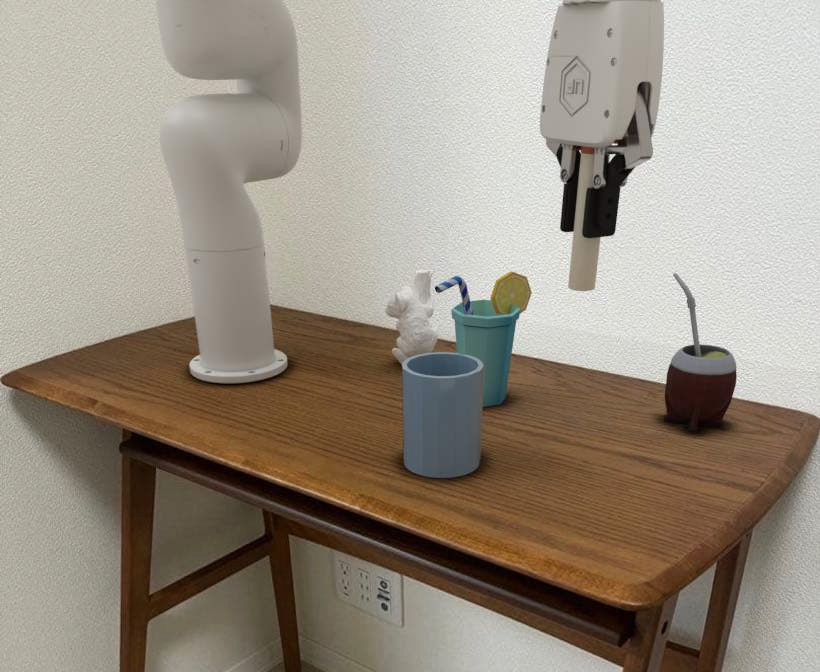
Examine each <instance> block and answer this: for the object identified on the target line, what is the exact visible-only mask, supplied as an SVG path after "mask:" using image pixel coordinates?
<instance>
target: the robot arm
mask: <svg viewBox="0 0 820 672" xmlns="http://www.w3.org/2000/svg"><path fill="white" fill-rule="evenodd" d="M155 6H156V14H157V21H158V28H159V34H160V39H161V45H162V48H163V52H164V53H163V54H164V55H165V58H166V61H167V62H168V64H169V65H170V66H171V68H172V69H173V70H174V71H175V72H176V73H177V74H179V75H180V76H183V77H186V78H189V79H193V80H202V81H228V80H230V81H232V80H234V81H235V83H236V89H237V93H230V92H226V93H225V92H224V93H223V92H221V93H202V94H194V95H189V96H186V97H184V98H181V99H179V100H177V101H175V102H174V103H172V104H171V105H170V106H169V107H168V108H167V109H166V111H165V113H164V114H163V116H162V119H161V122H160V125H159V144H160V149H161V153H162V156H163V161H164V163H165V166H166V169H167V172H168V175H169V179H170V182H171V185H172V188H173V192H174V195H175V199H176V204H177V208H178V214H179V219H180V226H181V232H182V239H183V245H184V252H185V259H186V266H187V271H188V272H187V273H188V279H189V287H190V294H191V295H190V296H191V301H192V308H193V314H194V322H195V329H196V338H197V343H198V349H199V351H198V352H199V354H198V355H196V356H195V357H193V358H192V359H191V360H190V361H189V364H188V367H189V372H190V375H192V376H193V377H194V378H196V379H197V380H200V381H203V382H208V383H213V384H225V385H226V384H229V385H230V384H246V383H253V382H259V381H263V380H267V379H271V378H273V377H275V376H278V375H279V374H280V375H281V374H282V373H283V372H284V371H285V370H286V369H287V368H288V356H287V355H286V354H285V353H284V352H283V351H281V350H278V349H275V344H274V343H275V342H274V332H273V331H274V330H273V320H272V311H271V299H270V290H269V280H268V269H267V268H268V267H267V258H266V248H265V238H264V229H263V223H262V220H261V217H260V214H259V212H258V209H257V207H256V205H255V204H254V202H253V200H252V199H251V196H250V195H249V193H248V191H247V189H246V187H245V184H247V183H255V182H262V181H267V180H275V179H277V178H282V177H283V176H286V175H287V174H289V173H290V172H291V171H293V169H294V168H295V166H296V165H297V163H298V161H299V159H300V156H301V152H302V145H303V116H302V99H301V98H302V97H301V80H300V64H299V63H300V61H299V49H298V48H299V47H298V38H297V31H296V28H295V23H294V21H293V18H292V15H291V12H290V10H289V8H288V7H287V4H286V3H285V0H155ZM664 8H665V7H664V2H663V1H662V0H562V5H558V6H557V10H556V14H555V17H554V21H553V26H552V29H551V34H550V39H549V46H548V50H547V56H546V61H545V70H544V77H543V86H542V93H541V104H540V116H539V132H540V135H541V136H542V137H543V139H545V145H546V147H547V148H548V149H549V151H550V152H551V153H552V154H553V155H554V156H555V157H556V160H557V162H558V164H559V167H560V173H559V178H560V179H559V180H560V181H561V182H562V183H563V191H562V201H561V202H562V203H561V212H560V224H559V229H560V231H561V232H563V233H573V232H574V222H575V211H576V201H577V190H578V180H579V170H580V159H581V146H585V147H594V148H595V155H594V167H593V180H592V183H593V187H592V188H587V192H586V199H585V209H584V219H583V229H582V235H583V237H585V238H597V237H601V238H606V237H612V236H614V235H615V233H616V228H617V220H618V213H619V204H620V203H619V202H620V196H621V188H623V187H625V186H626V185H627V184H628V183H627V182H628V177H629V176H630V174H631V173H632V172H633V171H634V169H635V168H636V167H638V166H640V165H642V164H644V163H646V162H648V161H650V160H651V159H652V157H653V155H654V148H653V142H652V137H653V136H654V133H655V128H656V125H657V118H658V113H659V107H660V99H661V89H662V81H663V80H662V79H663V69H664V68H663V67H664V64H663V63H664V52H665V51H664V49H665V48H664V47H665V11H664V10H665V9H664ZM611 144H612V145H611ZM609 154H610V155H614V156H613V157H612V158H611V159H610V158H609ZM608 159H609V163H608Z"/></svg>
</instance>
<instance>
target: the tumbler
mask: <svg viewBox="0 0 820 672" xmlns="http://www.w3.org/2000/svg"><path fill="white" fill-rule="evenodd" d="M483 379H484V365H483V363H482V361H481V360H479V359H477V358H475V357H473V356H470V355H465V354H461V353H457V352H452V351H451V352H450V351H437V352H435V351H434V352H433V351H432V352H431V353H425V354H419V355H415V356H413V357H410V358H407V359H406V360H405V361H404V362H403V363H402V364H401V407H402V408H401V409H402V411H401V414H402V456H403V465H404V467H405V468H406V469H407V470H408V471H409V472H412V473H413V474H416V475H419V476H422V477H427V478H434V479H452V478H457V477H463V476H466V475H468V474H470V473H473V472H474V471H476V470H477V469H478V468H479V466H480V464H481V455H482V434H483V433H482V432H483V431H482V430H483V429H482V428H483V408H484V407H483Z"/></svg>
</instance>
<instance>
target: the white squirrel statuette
mask: <svg viewBox="0 0 820 672" xmlns="http://www.w3.org/2000/svg"><path fill="white" fill-rule="evenodd" d="M434 273H435V270H434V269H432V268H428V269H418V270H417V269H416V271H415V273H414V278H413V287H411V286H410V285H404V286H402V287H401V289H400V290H399V291H398V292H396V293H395V294H393V295H392V296H391V297H390V298H389V299H388V302H387V305H386V307H385V309H384V313H385V315H386V316H387V317H388V316H389V317H390V318H395V319H398V320H397V322H396V326H395V328H396V330H397V331H398V333H399V334H400V335H399V336H398V337H397V338H396V340H395V343H396V346H397V347H393V348H392V350H391V354H392V355H393V356H394V357H395V358H396V359H397V360H398V363H399V364H401V365H402V363H403V362H404V361H405V360H406V359H407V358H410V357H413V356H415V355H419V354H425V353H433V350H434V349H435V347H436V344H437V342H438V339H439V330H438V329H437V327H436V325H435V324H431V322H430V321H429V320H428V319H430V318H431V317H433V316H434V312H435V305H434V302H433V301H432V296H431V282H432V277H433V275H434Z"/></svg>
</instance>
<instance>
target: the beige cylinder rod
mask: <svg viewBox="0 0 820 672" xmlns="http://www.w3.org/2000/svg"><path fill="white" fill-rule="evenodd" d="M611 145H613V144H611ZM580 153H581V159H580V170H579V180H578V190H577V201H576V211H575V222H574V232H572V234H573V235H572V242H571V243H572V244H571V252H570V253H571V254H570V263H569V275H568V287H567V288H568V289H569V290H572V291H576V292H589V291H593V290H595V289H596V283H597V272H598V264H599V255H600V246H601V238H602V237H597V238H585V237H583V235H582V229H583V219H584V209H585V199H586V192H587V188H592V187H593V183H592V180H593V167H594V155H595V148H594V147H585V146H581V150H580ZM610 156H611V154H609V159H608V163H609V162H610Z"/></svg>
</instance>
